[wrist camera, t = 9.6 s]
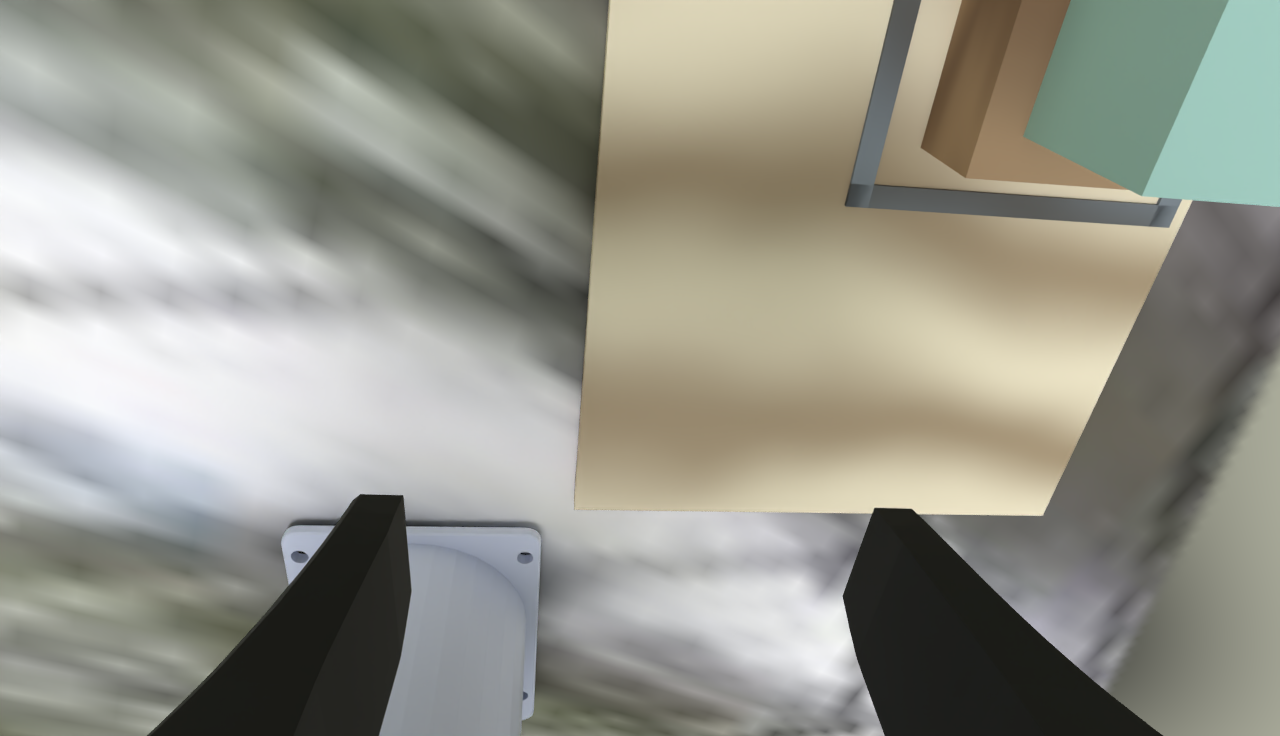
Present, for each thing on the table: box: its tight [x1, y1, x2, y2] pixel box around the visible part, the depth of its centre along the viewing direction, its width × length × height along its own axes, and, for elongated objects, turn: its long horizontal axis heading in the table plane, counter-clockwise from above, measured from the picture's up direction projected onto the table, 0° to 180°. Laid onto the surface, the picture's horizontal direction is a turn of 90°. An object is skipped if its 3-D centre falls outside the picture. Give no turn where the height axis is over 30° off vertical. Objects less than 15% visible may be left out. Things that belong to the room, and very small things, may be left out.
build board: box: [574, 0, 1192, 516], centre depth 20 cm, size 20×16×1 cm
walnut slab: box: [921, 0, 1128, 190], centre depth 17 cm, size 6×6×2 cm
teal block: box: [1023, 0, 1280, 207], centre depth 14 cm, size 4×4×4 cm
